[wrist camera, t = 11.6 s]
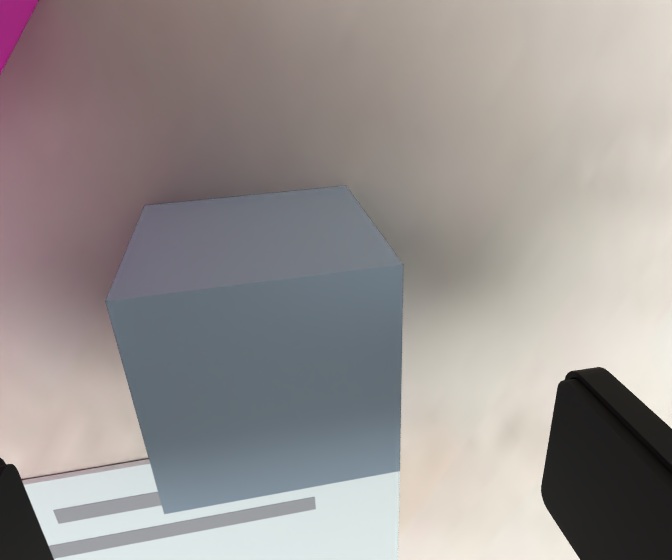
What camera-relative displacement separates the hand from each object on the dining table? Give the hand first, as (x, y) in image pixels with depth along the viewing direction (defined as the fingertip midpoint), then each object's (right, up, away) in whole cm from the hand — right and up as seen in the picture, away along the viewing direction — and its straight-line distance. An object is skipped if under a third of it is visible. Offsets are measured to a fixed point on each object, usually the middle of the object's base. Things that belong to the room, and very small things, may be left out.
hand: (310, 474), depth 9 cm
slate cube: (-2, +3, +5) cm, 6 cm away
